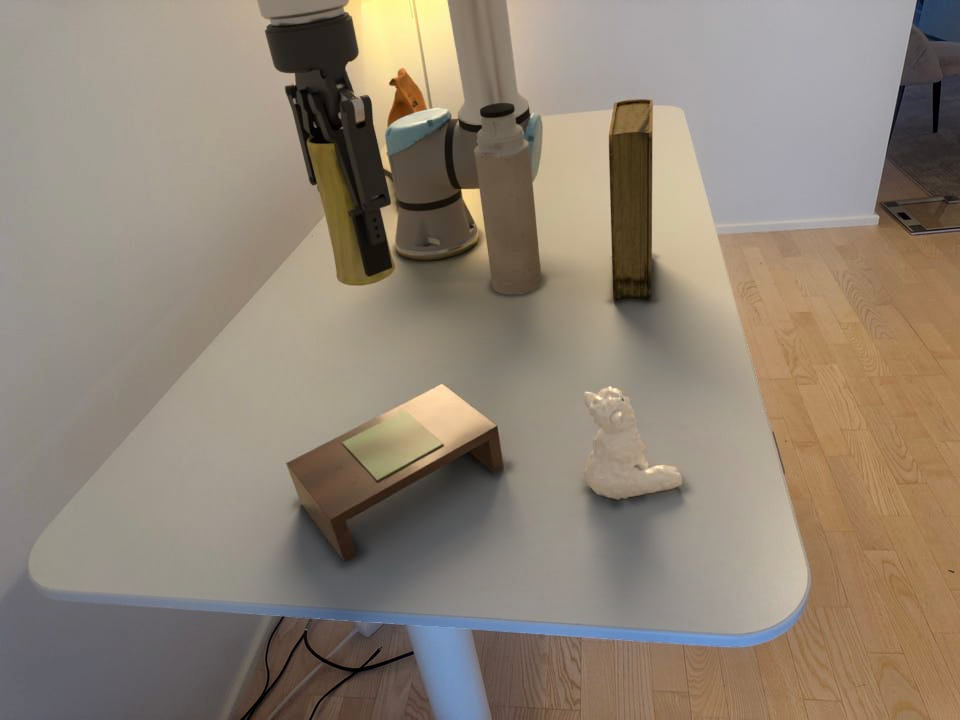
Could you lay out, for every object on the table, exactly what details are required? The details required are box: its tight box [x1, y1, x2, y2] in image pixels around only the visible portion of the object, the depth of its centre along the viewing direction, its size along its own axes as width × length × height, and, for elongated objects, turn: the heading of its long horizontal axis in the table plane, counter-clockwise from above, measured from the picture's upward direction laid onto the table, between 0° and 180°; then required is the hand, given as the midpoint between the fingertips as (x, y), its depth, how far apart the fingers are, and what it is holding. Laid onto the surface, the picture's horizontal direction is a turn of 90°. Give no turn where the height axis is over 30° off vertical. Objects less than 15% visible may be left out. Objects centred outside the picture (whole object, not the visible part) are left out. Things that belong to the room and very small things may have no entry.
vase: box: [307, 128, 396, 287], centre depth 71 cm, size 6×6×14 cm
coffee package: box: [386, 67, 428, 129], centre depth 163 cm, size 10×12×22 cm
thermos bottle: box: [474, 103, 542, 296], centre depth 108 cm, size 8×8×28 cm
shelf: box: [286, 383, 505, 563], centre depth 78 cm, size 11×20×6 cm, turn 126°
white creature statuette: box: [583, 385, 683, 501], centre depth 72 cm, size 10×9×12 cm
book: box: [608, 98, 654, 301], centre depth 106 cm, size 16×6×25 cm, turn 168°
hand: (364, 261), depth 74 cm, fingers closed on vase, 6 cm apart
